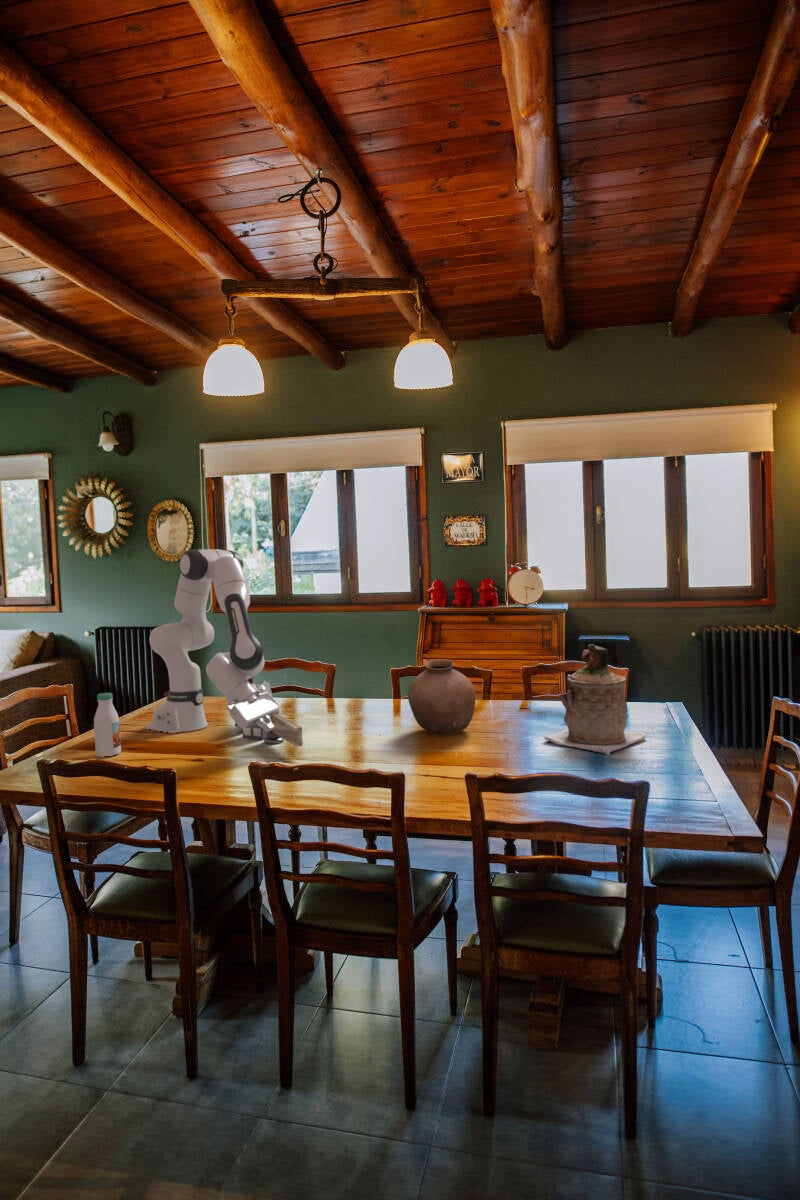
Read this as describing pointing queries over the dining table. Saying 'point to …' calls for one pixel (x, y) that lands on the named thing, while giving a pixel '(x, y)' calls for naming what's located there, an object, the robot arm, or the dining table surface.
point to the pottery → (442, 698)
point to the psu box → (254, 732)
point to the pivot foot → (273, 740)
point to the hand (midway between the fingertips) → (271, 729)
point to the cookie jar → (595, 707)
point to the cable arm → (285, 730)
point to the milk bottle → (106, 727)
